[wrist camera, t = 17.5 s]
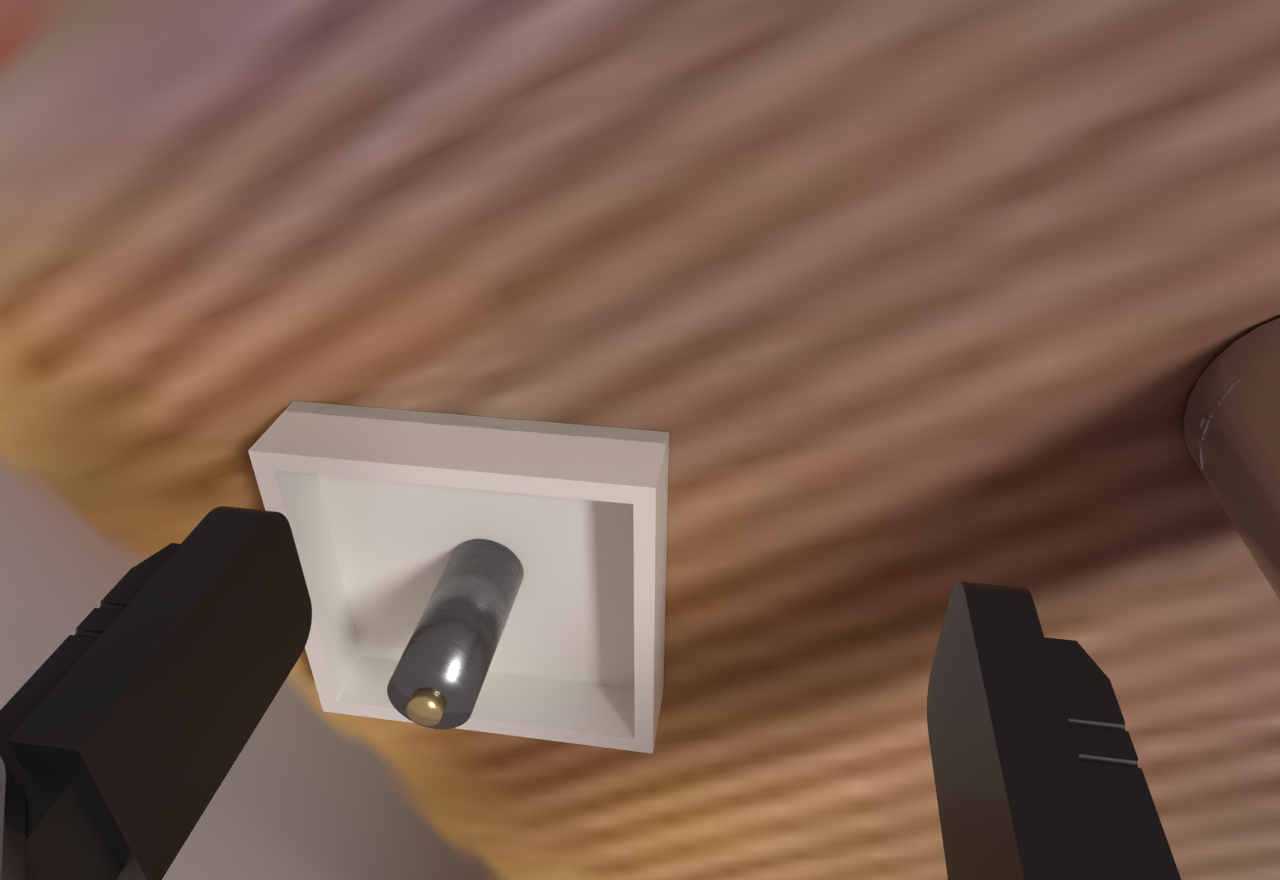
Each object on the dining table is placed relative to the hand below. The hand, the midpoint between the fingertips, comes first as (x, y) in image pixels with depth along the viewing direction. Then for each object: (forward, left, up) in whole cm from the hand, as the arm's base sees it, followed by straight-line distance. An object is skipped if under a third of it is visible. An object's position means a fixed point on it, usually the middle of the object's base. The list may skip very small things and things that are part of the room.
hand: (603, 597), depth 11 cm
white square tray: (+12, +25, -28) cm, 39 cm away
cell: (+12, +25, -27) cm, 39 cm away
